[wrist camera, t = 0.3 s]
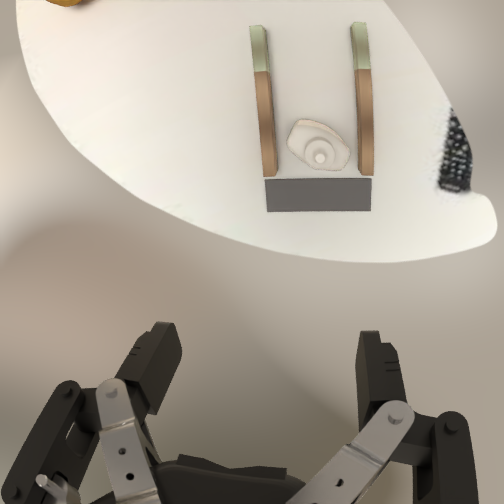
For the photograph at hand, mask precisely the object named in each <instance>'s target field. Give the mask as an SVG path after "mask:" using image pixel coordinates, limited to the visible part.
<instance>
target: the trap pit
mask: <svg viewBox="0 0 504 504" xmlns="http://www.w3.org/2000/svg"><path fill="white" fill-rule="evenodd" d="M371 181H372V179H366V178H314V179H272V180H265V188H266V200H267V212H294V211H371Z"/></svg>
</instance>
